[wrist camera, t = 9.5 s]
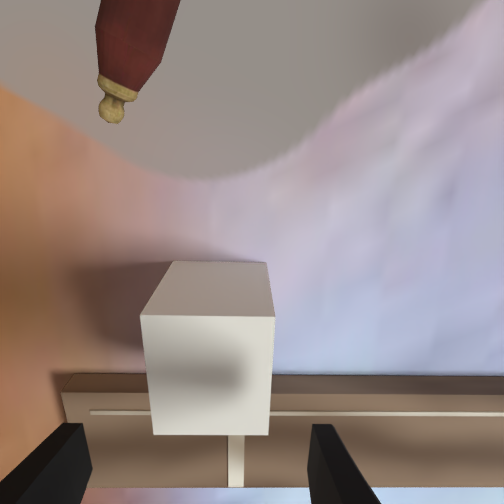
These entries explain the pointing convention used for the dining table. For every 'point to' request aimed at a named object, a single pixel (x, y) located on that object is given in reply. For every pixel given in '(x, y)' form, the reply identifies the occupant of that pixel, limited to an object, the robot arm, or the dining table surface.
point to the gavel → (129, 48)
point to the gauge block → (210, 349)
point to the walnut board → (302, 433)
